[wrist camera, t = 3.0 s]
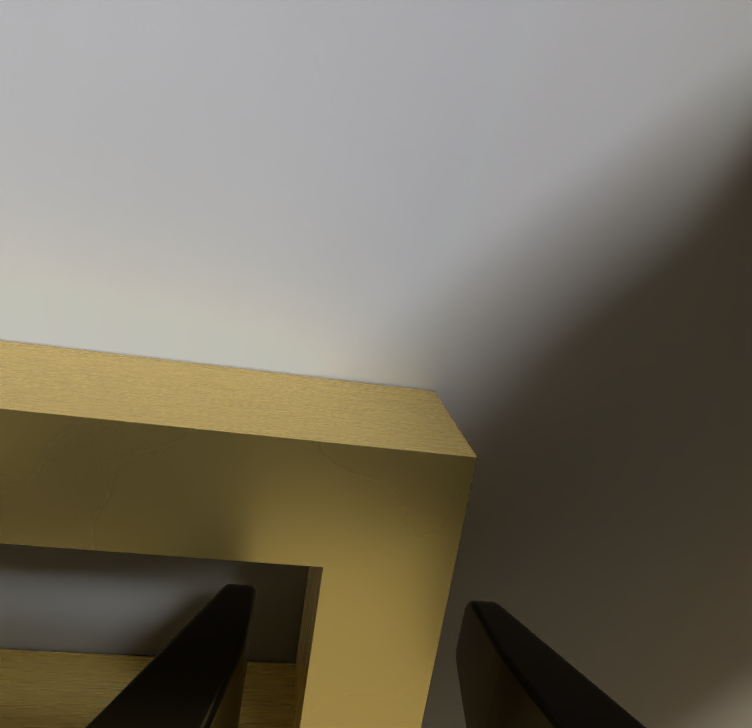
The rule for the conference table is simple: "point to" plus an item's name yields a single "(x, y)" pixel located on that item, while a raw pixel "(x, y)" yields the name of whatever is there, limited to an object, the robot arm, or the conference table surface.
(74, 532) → the yellow rectangular frame
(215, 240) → the conference table surface
